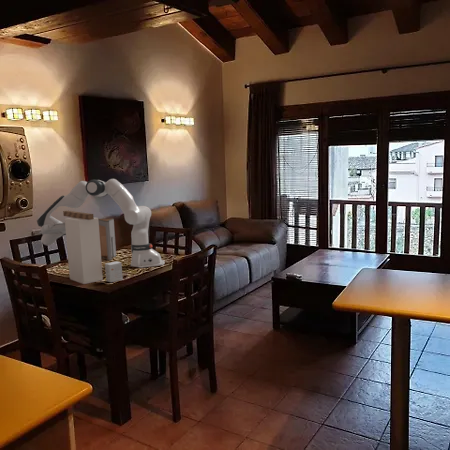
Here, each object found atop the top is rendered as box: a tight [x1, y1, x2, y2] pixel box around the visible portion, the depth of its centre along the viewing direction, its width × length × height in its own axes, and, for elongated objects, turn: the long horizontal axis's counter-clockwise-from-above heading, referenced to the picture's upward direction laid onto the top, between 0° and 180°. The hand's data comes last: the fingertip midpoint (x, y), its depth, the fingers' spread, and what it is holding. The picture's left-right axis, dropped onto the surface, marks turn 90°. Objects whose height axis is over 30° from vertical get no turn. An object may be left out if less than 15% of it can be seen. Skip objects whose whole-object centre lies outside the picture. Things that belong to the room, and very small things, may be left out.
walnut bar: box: [63, 210, 94, 220], centre depth 277 cm, size 32×3×3 cm, turn 44°
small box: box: [104, 260, 124, 283], centre depth 275 cm, size 8×6×10 cm
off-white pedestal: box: [64, 217, 104, 285], centre depth 278 cm, size 18×12×37 cm, turn 44°
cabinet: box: [98, 218, 117, 262], centre depth 339 cm, size 21×10×28 cm, turn 36°
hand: (61, 222), depth 295 cm, fingers open, 8 cm apart
